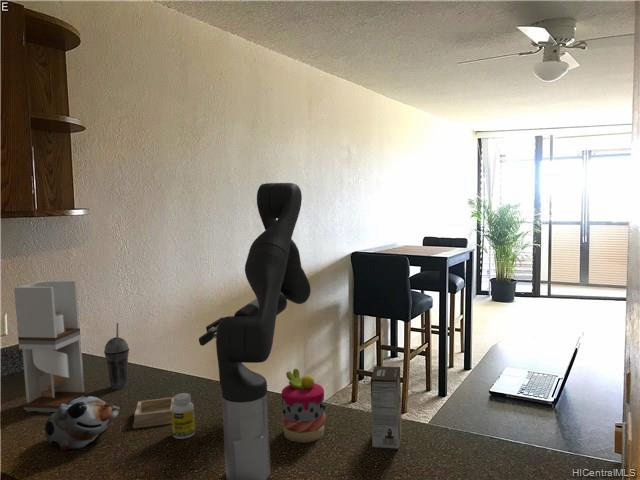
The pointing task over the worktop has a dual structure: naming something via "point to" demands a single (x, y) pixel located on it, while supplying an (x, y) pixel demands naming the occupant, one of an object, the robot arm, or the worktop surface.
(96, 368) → the worktop surface
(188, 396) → the supplement bottle
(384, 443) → the coffee box
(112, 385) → the beverage cup
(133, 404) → the worktop surface
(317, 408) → the cake
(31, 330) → the white shelf stand
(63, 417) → the lucky cat figurine
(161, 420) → the birch dock
